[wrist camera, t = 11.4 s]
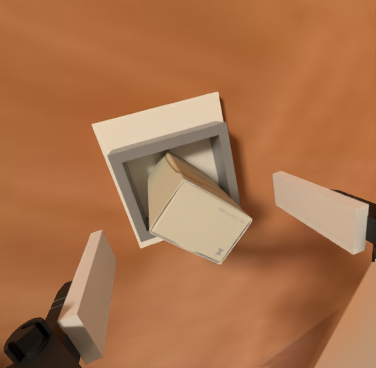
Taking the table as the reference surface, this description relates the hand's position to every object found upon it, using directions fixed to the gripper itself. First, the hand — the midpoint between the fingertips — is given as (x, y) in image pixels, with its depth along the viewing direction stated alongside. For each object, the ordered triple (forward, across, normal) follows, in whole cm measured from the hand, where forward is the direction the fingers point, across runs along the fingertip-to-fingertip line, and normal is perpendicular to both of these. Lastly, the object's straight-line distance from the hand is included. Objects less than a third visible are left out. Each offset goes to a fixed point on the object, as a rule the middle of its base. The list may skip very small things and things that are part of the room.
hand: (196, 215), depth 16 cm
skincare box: (+11, 0, 0) cm, 11 cm away
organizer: (+12, 0, 0) cm, 12 cm away
